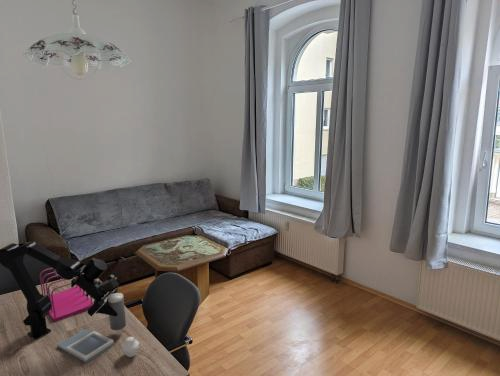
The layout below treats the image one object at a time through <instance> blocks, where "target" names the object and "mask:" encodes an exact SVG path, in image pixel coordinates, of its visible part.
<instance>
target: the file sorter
mask: <svg viewBox="0 0 500 376" xmlns="http://www.w3.org/2000/svg"><path fill="white" fill-rule="evenodd" d="M51 270H55V269H54V268H52V267H49V268H46V269H43V270H42V271H41V272H40V273H39V281H40V289H41V294H42V295H43V296H46V295H48V296H49V299H50V300H51V301H52V303H51V304H52V308H51V310H50V311H49V314H48V315H49V316H50V318H51V320H52V321H53V323H55V322H58V321H61V320H63V319H66V318H68V317H72V316H74V315H76V314H79V313H82V312H85V311H87V310H88V309H89V308H90V307H91V305H92V304H93V303H94V302H93V298H92V297H90V296H89V295H88V296H85V295H86V294H87V293H86V292H85V291H83V290H82V289H81V288H80V287H79V286H77V285H75V286H74V287H73V288H72V287H70V288H68V289H64V290H61V291H58V292H55V293H54V291H56V290H57V289H60V288H64V287H67V286H71V282H69V283H66V284H62V285H60V286H56V287H54V288H53V289H52V290H51V291H50V287H51V286H52V285H53V284H57V283H59V282H64V281H66V279H64V278H62V279H59V280H56V281H52V282H51V283H50V284H48V281H50V280H51V279H53V278H58V277H61V276H60V275H58V274H57V272H56V271H52V272H49V273H45V275H44V276H42V274H43V273H44V272H48V271H51ZM53 274H57V275H53ZM81 274H84V273H81ZM49 275H53V276H50V277H48V278H47V279H46V281H45V278H46V277H47V276H49ZM74 278H77V277H74ZM50 292H51V293H50Z"/></svg>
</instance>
